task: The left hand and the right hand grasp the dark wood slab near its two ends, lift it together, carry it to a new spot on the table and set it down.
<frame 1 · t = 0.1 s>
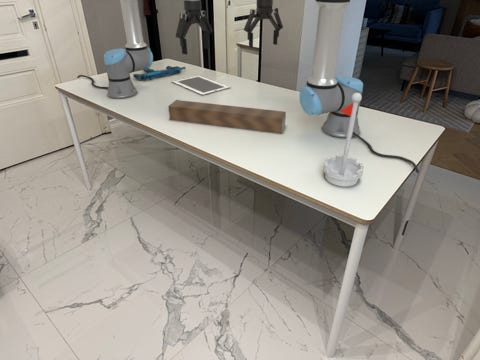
left hand: (195, 51, 157), 28 cm above the table, tool pointing down, fingers open, 13 cm apart
right hand: (263, 45, 167), 28 cm above the table, tool pointing down, fingers open, 13 cm apart
slab: (226, 122, 157), on the table
submachine gun: (158, 73, 225), on the table
flag stand: (341, 177, 118), on the table
tablet: (200, 85, 205), on the table
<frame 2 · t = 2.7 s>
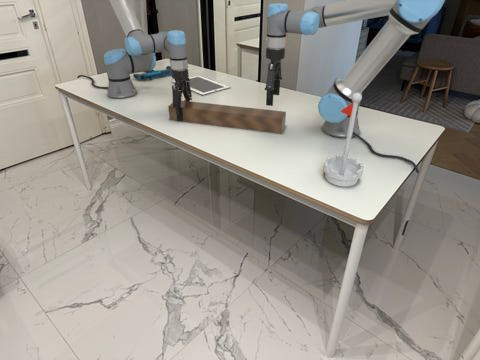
left hand: (184, 116, 162), 0 cm above the table, tool pointing down, fingers closed on slab, 9 cm apart
right hand: (272, 99, 145), 13 cm above the table, tool pointing down, fingers open, 13 cm apart
slab: (226, 122, 157), on the table, touching left hand
everything else where it was.
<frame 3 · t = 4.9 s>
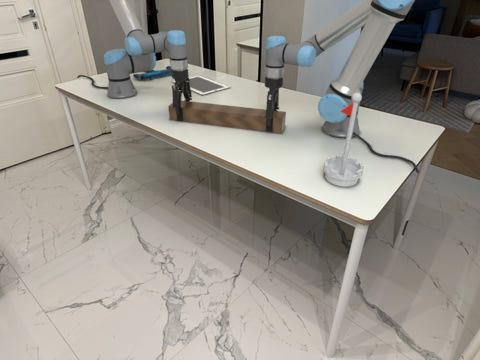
left hand: (184, 116, 162), 0 cm above the table, tool pointing down, fingers closed on slab, 9 cm apart
right hand: (271, 127, 152), 0 cm above the table, tool pointing down, fingers closed on slab, 9 cm apart
slab: (226, 122, 157), on the table, touching right hand, left hand
everything else where it was.
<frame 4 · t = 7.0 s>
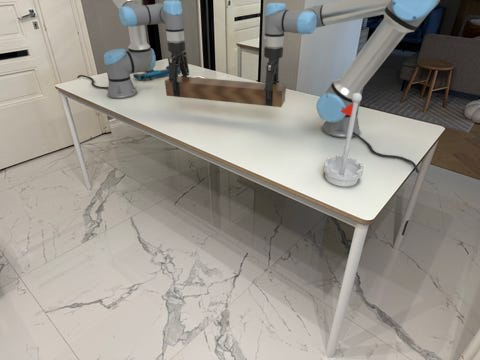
left hand: (181, 92, 158), 12 cm above the table, tool pointing down, fingers closed on slab, 8 cm apart
right hand: (271, 101, 147), 12 cm above the table, tool pointing down, fingers closed on slab, 9 cm apart
slab: (224, 98, 153), point 11 cm above the table, touching right hand, left hand
everything else where it was.
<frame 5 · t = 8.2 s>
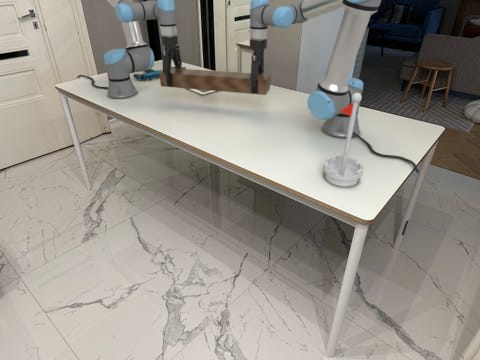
left hand: (174, 83, 170), 11 cm above the table, tool pointing down, fingers closed on slab, 9 cm apart
right hand: (256, 89, 159), 12 cm above the table, tool pointing down, fingers closed on slab, 9 cm apart
slab: (214, 87, 165), point 11 cm above the table, touching right hand, left hand
everything else where it was.
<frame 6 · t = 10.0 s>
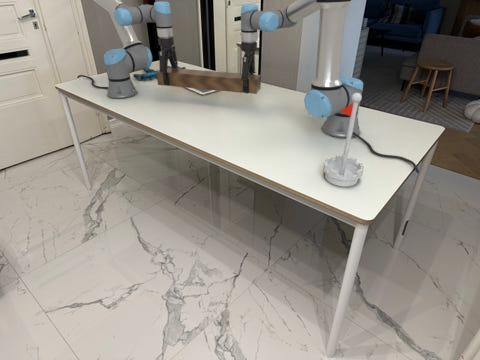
left hand: (170, 82, 180), 9 cm above the table, tool pointing down, fingers closed on slab, 8 cm apart
right hand: (248, 89, 170), 9 cm above the table, tool pointing down, fingers closed on slab, 8 cm apart
slab: (208, 86, 175), point 8 cm above the table, touching right hand, left hand
everything else where it was.
when the left hand's fingers open (2 cm above the table, at t = 11.4 s): slab drops 1 cm, on the table.
when the right hand's fingers open (2 cm above the table, at t = 11.4 s): slab drops 1 cm, on the table.
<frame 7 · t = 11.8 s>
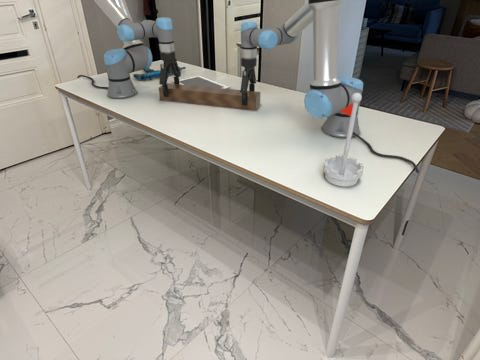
left hand: (172, 92, 183), 3 cm above the table, tool pointing down, fingers open, 13 cm apart
right hand: (248, 100, 173), 3 cm above the table, tool pointing down, fingers open, 13 cm apart
slab: (209, 102, 180), on the table
everything else where it was.
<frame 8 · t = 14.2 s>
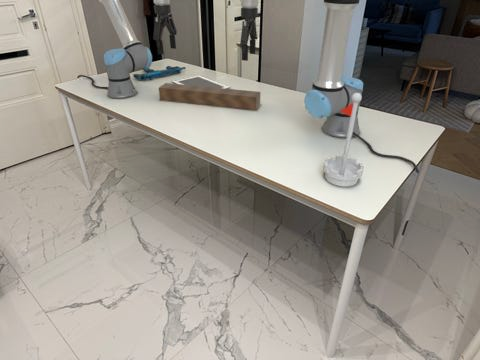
left hand: (167, 51, 171), 25 cm above the table, tool pointing down, fingers open, 13 cm apart
right hand: (248, 57, 161), 25 cm above the table, tool pointing down, fingers open, 13 cm apart
nothing on the table moved.
at the end: slab inside the target area (0.1 cm from its centre), on the table; slab tilted 0°; slab never tilted more than 1° during the clip; both hands held the slab at the same time; the left hand is holding nothing; the right hand is holding nothing; slab at rest at the end (0.0 cm/s) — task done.
